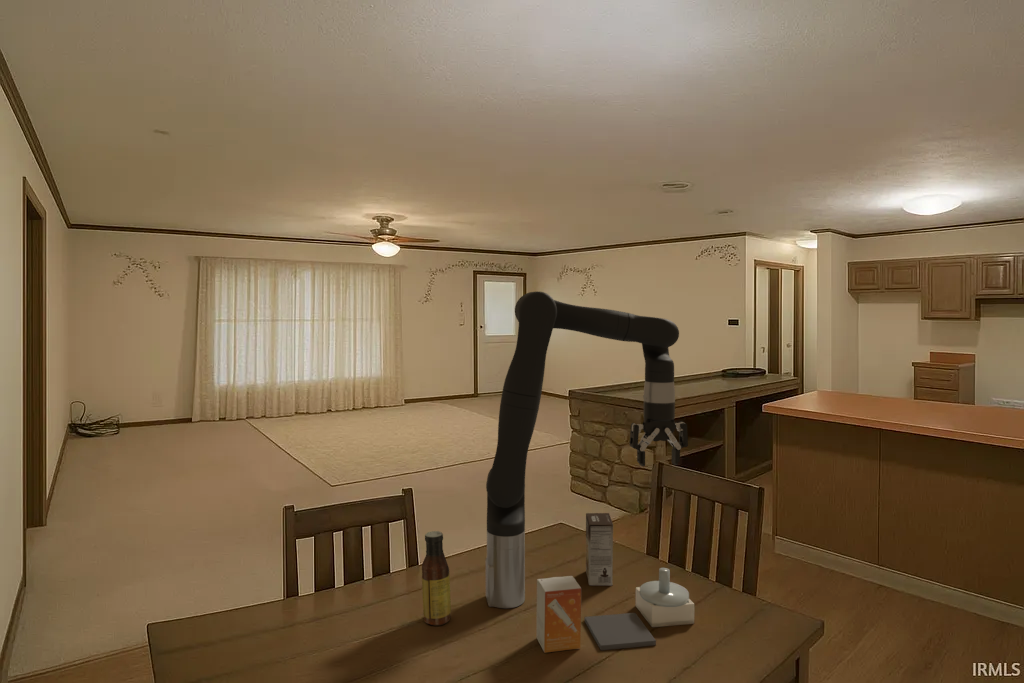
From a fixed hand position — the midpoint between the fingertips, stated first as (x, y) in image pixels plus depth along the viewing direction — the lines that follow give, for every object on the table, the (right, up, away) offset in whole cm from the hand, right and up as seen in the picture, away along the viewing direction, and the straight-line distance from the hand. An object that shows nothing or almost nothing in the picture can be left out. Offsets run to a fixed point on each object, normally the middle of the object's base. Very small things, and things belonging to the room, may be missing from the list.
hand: (658, 464), depth 149 cm
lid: (-1, -28, -10) cm, 30 cm away
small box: (-27, -33, -22) cm, 48 cm away
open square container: (-1, -33, -10) cm, 34 cm away
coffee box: (-13, -32, +9) cm, 36 cm away
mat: (-13, -33, -18) cm, 40 cm away
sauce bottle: (-53, -33, -12) cm, 64 cm away
